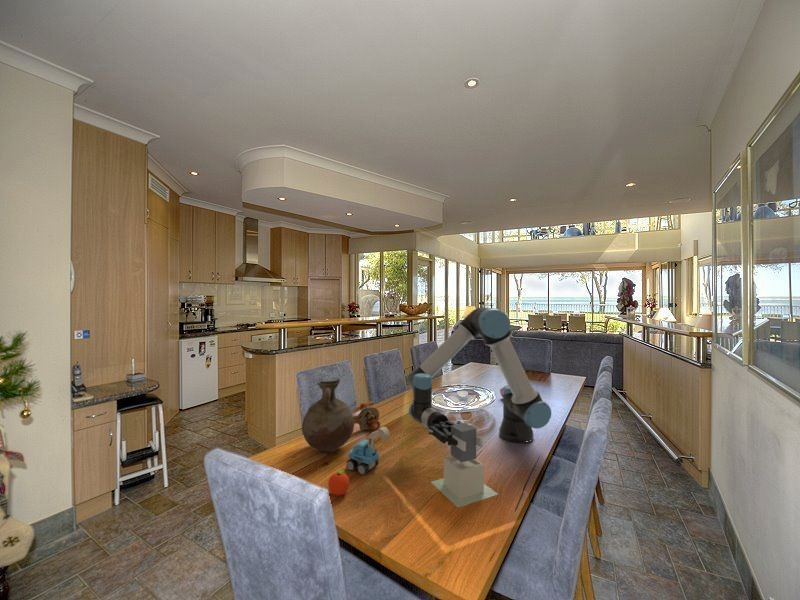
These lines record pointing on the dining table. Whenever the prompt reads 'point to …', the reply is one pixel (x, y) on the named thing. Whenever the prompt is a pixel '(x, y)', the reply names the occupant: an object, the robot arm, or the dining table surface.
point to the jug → (328, 421)
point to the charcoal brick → (468, 436)
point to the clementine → (338, 483)
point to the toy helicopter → (367, 417)
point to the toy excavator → (366, 452)
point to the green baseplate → (467, 500)
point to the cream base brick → (463, 476)
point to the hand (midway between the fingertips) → (473, 444)
